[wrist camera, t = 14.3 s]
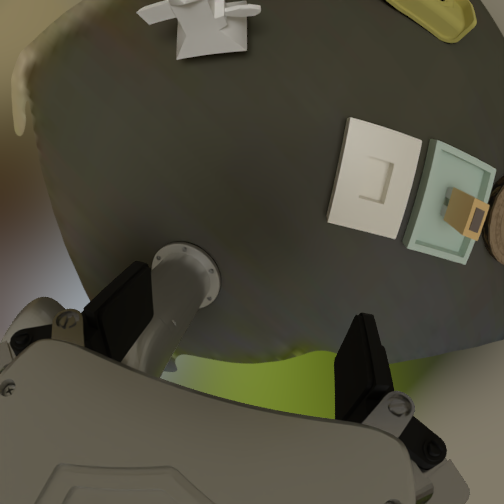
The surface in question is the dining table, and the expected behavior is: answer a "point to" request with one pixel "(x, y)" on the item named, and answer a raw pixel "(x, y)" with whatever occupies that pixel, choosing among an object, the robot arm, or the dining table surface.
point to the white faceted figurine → (204, 24)
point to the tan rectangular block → (464, 213)
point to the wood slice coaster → (495, 222)
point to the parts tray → (445, 201)
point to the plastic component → (440, 16)
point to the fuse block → (373, 178)
